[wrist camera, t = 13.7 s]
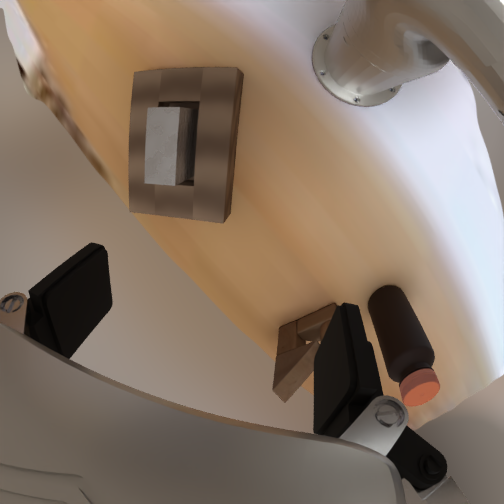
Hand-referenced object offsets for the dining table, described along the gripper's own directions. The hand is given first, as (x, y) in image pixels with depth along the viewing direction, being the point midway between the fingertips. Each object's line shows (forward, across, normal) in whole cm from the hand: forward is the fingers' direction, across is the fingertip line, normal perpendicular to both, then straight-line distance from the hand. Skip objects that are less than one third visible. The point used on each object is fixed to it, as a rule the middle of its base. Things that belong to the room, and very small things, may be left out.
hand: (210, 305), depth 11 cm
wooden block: (+30, -11, +23) cm, 40 cm away
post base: (+30, +13, -2) cm, 33 cm away
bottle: (+30, -23, +16) cm, 41 cm away
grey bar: (+29, +12, -2) cm, 32 cm away
